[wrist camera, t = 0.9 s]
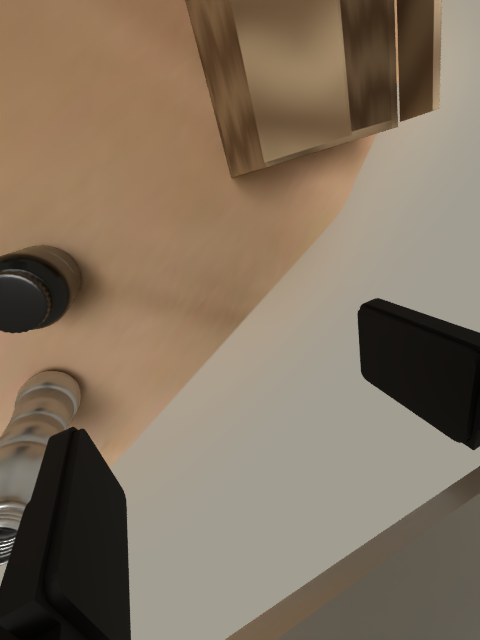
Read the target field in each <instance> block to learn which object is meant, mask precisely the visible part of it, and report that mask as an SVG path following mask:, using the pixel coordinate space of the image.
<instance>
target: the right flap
mask: <svg viewBox="0 0 480 640" xmlns="http://www.w3.org/2000/svg"><path fill="white" fill-rule="evenodd" d="M441 14H442V0H397V23H398V61H399V97H400V98H399V100H400V122H401V121H404V120H407V119H410V118H413V117H416V116H418V115H422V114H425V113H428V112H431V111H434V110H436V109H439V102H440V59H441V58H440V56H441V16H442V15H441Z"/></svg>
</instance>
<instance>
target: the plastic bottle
mask: <svg viewBox="0 0 480 640" xmlns="http://www.w3.org/2000/svg"><path fill="white" fill-rule="evenodd" d="M80 402H81V395H80V388H79V385H78V383H77V382H76V380H74V379H73V378H72V377H71V376H69V375H68V374H65V373H63V372H58V371H46V372H42V373H39V374H37V375H35V376H33V377H32V378H30V379H29V380H28V381H27V382H26V383H25V384H24V385H23V386H22V387H21V389H20V390H19V392H18V395H17V398H16V402H15V409H14V412H13V415H12V417H11V420H10V423H9V424H8V426H7V428H6V429H5V431H4V432H3V434H2V436H1V437H0V565H4V564H6V563H8V560H9V557H10V554H11V550H12V547H13V544H14V541H15V537H16V534H17V531H18V528H19V524H20V521H21V518H22V515H23V511H24V509H25V507H26V505H27V504H28V503H29V502H30V500H31V497H32V493H33V490H34V487H35V483H36V480H37V477H38V473H39V470H40V466H41V463H42V460H43V456H44V453H45V450H46V446H47V443H48V440H49V438H50V437H51V436H52V435H55V434H57V433H59V432H62V431H64V430H66V429H69V426H70V423H71V421H72V419H73V417H74V416H75V414H76V412H77V410H78V408H79V405H80Z"/></svg>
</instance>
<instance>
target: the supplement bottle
mask: <svg viewBox="0 0 480 640" xmlns="http://www.w3.org/2000/svg"><path fill="white" fill-rule="evenodd" d="M81 281H82V278H81V272H80V269H79V267H78V265H77V264H76V262H75V261H74V260H73V259H72V258H71V257H70V256H69V255H68V254H67V253H65V252H63V251H62V250H59V249H57V248H54V247H50V246H32V247H28V248H25V249H22V250H19V251H16V252H12V253H9V254H6V255H3V256H1V257H0V331H3V332H10V333H15V332H16V333H21V332H27V331H29V330H34V329H40V328H44V327H47V326H50V325H52V324H54V323H55V322H57V321H58V320H59V319H61V318H62V317H63V316H64V314H65V313H66V312H67V310H68V309H69V307H70V305H71V304H72V302H73V300H74V299H75V297H76V295H77V294H78V292H79V290H80V287H81Z"/></svg>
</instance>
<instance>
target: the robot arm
mask: <svg viewBox="0 0 480 640" xmlns="http://www.w3.org/2000/svg"><path fill="white" fill-rule="evenodd" d="M358 329H359V345H360V362H361V373H362V375H363V377H364V378H365V379H366V380H367V381H368V382H370V383H371V384H373V385H374V386H375V387H377V388H379V389H380V390H381V391H383V392H384V393H386V394H387V395H389V396H390V397H391V398H393V399H395V400H396V401H397V402H399V403H400V404H402V405H403V406H405V407H406V408H408V409H409V410H410V411H412V412H413V413H415V414H416V415H418V416H419V417H421V418H422V419H423V420H425V421H426V422H428V423H429V424H431V425H432V426H434V427H435V428H437V429H438V430H439V431H441V432H443V433H444V434H445V435H447V436H448V437H450V438H451V439H453V440H454V441H456V442H459V443H460V442H461V443H463V444H465V445H466V446H468V447H469V448H471V449H472V450H475V449H476V448H478V447H479V446H480V333H478V332H476V331H473V330H470V329H467V328H464V327H461V326H458V325H455V324H452V323H449V322H446V321H444V320H440V319H438V318H435V317H432V316H429V315H426V314H423V313H420V312H417V311H414V310H411V309H409V308H406V307H403V306H400V305H397V304H394V303H391V302H388V301H385V300H382V299H379V298H377V299H373V300H371V301H368V302H366V303H364V304H362V305H361V307H360V310H359V311H358ZM129 601H130V599H129V568H128V539H127V507H126V498H125V494H124V491H123V489H122V487H121V486H120V484H119V482H118V481H117V479H116V478H115V476H114V475H113V473H112V471H111V470H110V468H109V467H108V465H107V463H106V462H105V460H104V459H103V457H102V455H101V454H100V452H99V451H98V449H97V448H96V446H95V444H94V443H93V441H92V440H91V438H90V436H89V435H88V433H87V432H86V430H85V429H80V430H77V429H76V428H75V427H71V428H69V429H66V430H64V431H62V432H59V433H57V434H55V435H52V436H51V437H50V438H49V440H48V443H47V446H46V450H45V453H44V456H43V460H42V463H41V466H40V470H39V473H38V477H37V480H36V483H35V487H34V490H33V493H32V497H31V500H30V502H29V503H28V504H27V505H26V507H25V509H24V511H23V515H22V518H21V521H20V524H19V528H18V531H17V534H16V537H15V541H14V544H13V547H12V550H11V554H10V557H9V560H8V563H7V567H6V570H5V573H4V577H3V580H2V583H1V586H0V640H131V630H130V602H129ZM225 640H480V466H479V467H478V468H476V469H475V470H473V471H472V472H470V473H469V474H467V475H466V476H464V477H463V478H462V479H460V480H458V481H457V482H455V483H454V484H452V485H451V486H449V487H448V488H447V489H445V490H444V491H442V492H441V493H439V494H438V495H436V496H435V497H433V498H432V499H430V500H429V501H427V502H426V503H424V504H423V505H421V506H420V507H418V508H417V509H415V510H414V511H413V512H411V513H409V514H408V515H407V516H405V517H404V518H402V519H401V520H399V521H398V522H396V523H395V524H393V525H392V526H390V527H389V528H387V529H386V530H384V531H383V532H381V533H380V534H379V535H377V536H376V537H374V538H373V539H371V540H370V541H368V542H367V543H365V544H364V545H362V546H361V547H360V548H358V549H356V550H355V551H354V552H352V553H351V554H349V555H348V556H346V557H345V558H344V559H342V560H340V561H339V562H337V563H336V564H334V565H333V566H331V567H330V568H329V569H327V570H326V571H325V572H323V573H321V574H320V575H318V576H317V577H316V578H314V579H313V580H311V581H310V582H308V583H307V584H305V585H304V586H302V587H301V588H300V589H298V590H297V591H295V592H294V593H292V594H291V595H289V596H288V597H286V598H285V599H283V600H282V601H280V602H279V603H278V604H276V605H275V606H273V607H272V608H270V609H269V610H267V611H266V612H265V613H263V614H262V615H260V616H259V617H257V618H256V619H254V620H253V621H251V622H250V623H248V624H247V625H245V626H244V627H243V628H241V629H240V630H238V631H237V632H235V633H234V634H232V635H231V636H229V637H228V638H227V639H225Z"/></svg>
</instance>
